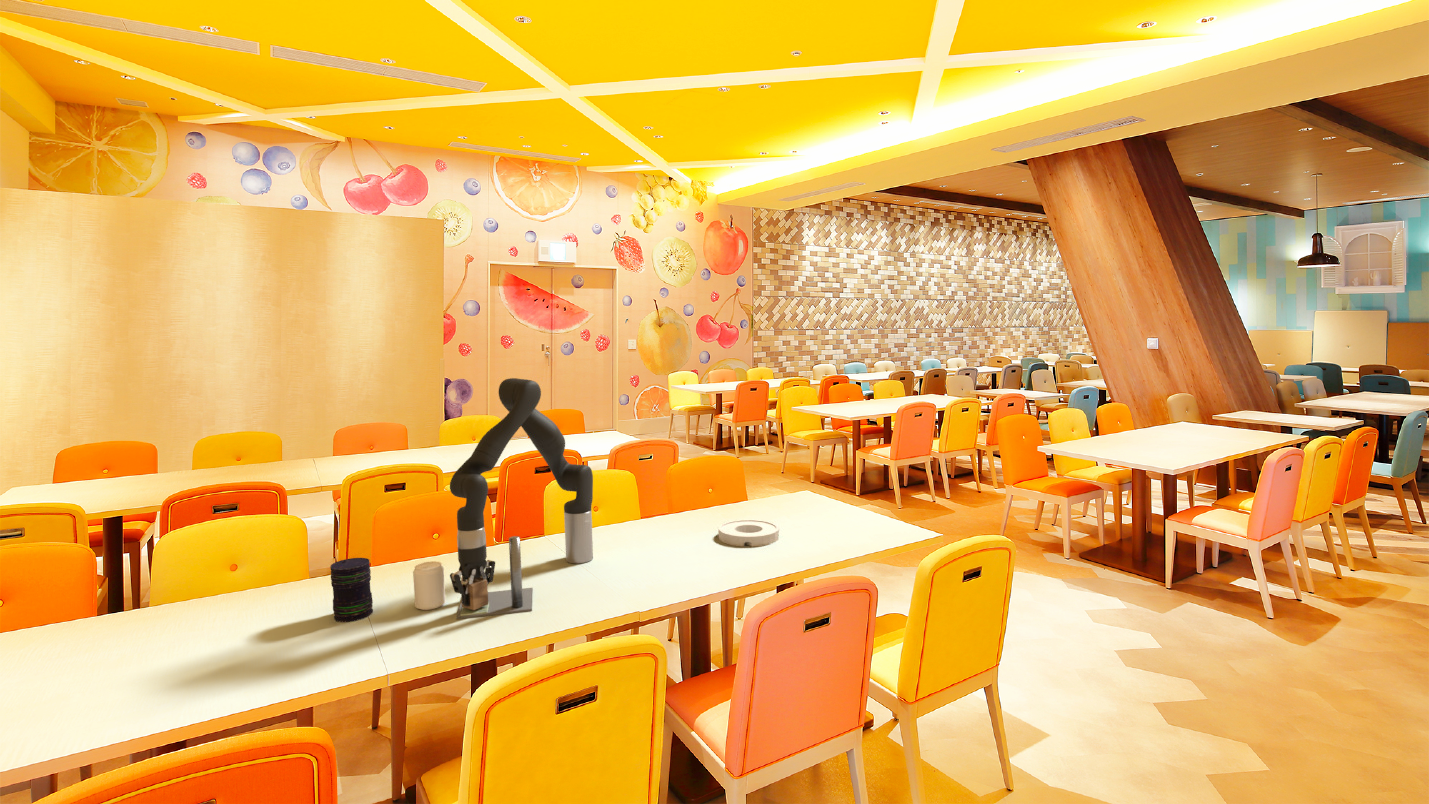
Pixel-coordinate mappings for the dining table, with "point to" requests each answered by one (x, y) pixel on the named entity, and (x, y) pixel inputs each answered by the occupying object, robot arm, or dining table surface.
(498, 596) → the mat
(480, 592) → the walnut block
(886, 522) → the dining table surface
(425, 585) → the beverage can
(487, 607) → the pad
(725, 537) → the ashtray
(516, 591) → the post
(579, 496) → the robot arm
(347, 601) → the black cylinder
